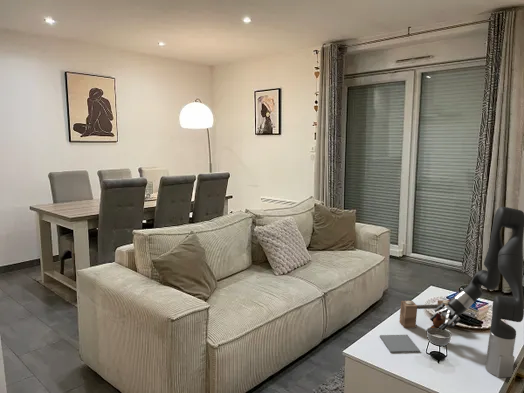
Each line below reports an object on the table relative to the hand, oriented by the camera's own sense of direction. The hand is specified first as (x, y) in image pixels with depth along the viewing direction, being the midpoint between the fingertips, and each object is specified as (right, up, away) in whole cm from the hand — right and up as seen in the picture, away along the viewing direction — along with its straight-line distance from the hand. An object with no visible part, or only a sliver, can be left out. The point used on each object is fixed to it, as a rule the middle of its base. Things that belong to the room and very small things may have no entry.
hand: (435, 325), depth 189 cm
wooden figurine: (+1, -8, +1) cm, 8 cm away
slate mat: (-19, -8, -3) cm, 21 cm away
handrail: (+2, -5, +16) cm, 17 cm away
